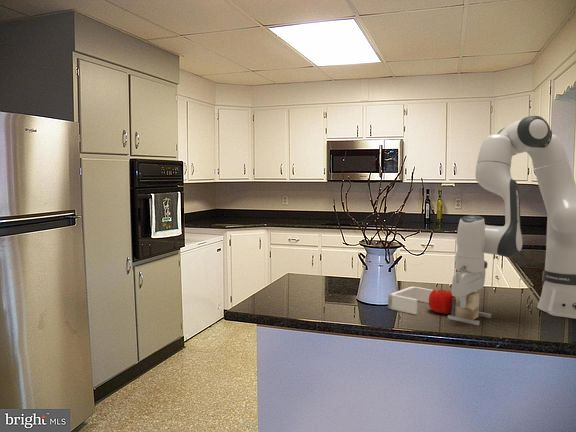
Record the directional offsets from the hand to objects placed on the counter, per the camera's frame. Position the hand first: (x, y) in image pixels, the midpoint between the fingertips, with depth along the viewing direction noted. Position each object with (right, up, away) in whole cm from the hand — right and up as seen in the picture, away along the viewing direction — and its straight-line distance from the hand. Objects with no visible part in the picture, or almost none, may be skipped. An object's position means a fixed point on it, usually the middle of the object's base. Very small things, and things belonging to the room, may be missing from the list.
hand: (467, 305), depth 160 cm
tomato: (-7, -4, +6) cm, 10 cm away
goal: (-14, -3, +13) cm, 19 cm away
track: (+1, -4, 0) cm, 4 cm away
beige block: (0, -4, 0) cm, 4 cm away
